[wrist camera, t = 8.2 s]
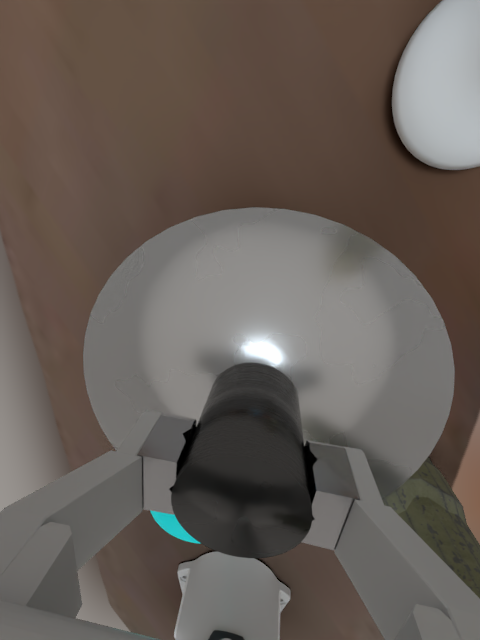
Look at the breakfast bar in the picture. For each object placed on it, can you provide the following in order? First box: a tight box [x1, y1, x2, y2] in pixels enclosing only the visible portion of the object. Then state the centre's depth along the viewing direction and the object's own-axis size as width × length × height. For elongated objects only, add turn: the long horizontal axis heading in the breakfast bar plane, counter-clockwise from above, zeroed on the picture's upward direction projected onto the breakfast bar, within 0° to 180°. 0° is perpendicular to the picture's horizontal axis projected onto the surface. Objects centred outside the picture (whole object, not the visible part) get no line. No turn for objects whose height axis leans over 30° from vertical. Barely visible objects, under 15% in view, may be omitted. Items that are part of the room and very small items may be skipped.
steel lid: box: [83, 207, 455, 558], centre depth 9 cm, size 13×13×5 cm
